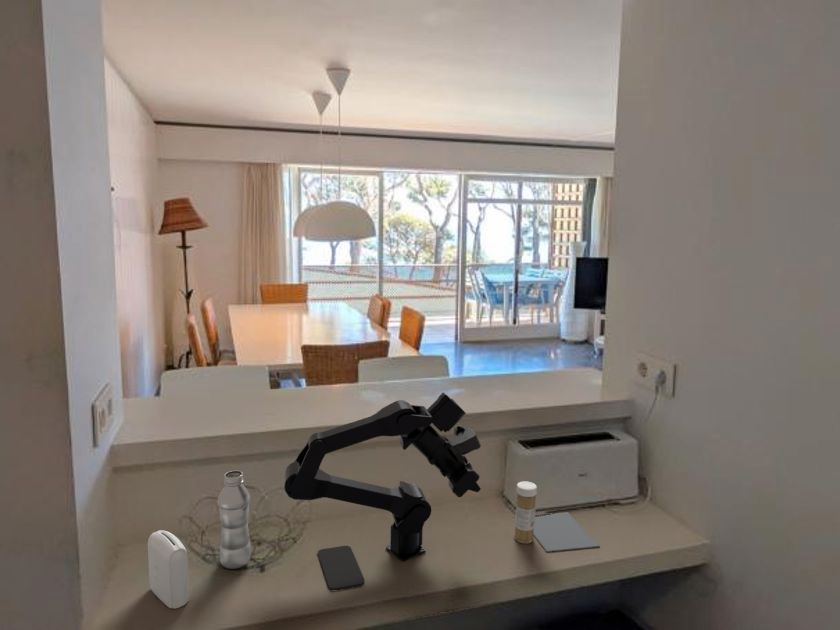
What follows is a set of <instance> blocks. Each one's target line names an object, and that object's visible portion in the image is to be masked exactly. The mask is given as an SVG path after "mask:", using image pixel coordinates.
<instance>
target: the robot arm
mask: <svg viewBox="0 0 840 630" xmlns="http://www.w3.org/2000/svg"><path fill="white" fill-rule="evenodd" d="M466 415H467V413H466V411H465V410H464V409H463V408H462V407H461V406H460V405H459V404H458V403H457V402H456V401H455V400H454V399H453V398H451V397H449V395H448V394H446V393H445V391H443V392H442V393H441V394H440V395H438V397H437V399H436V400H435V401H434V402H433V403H432V404H431V405H430V406H429V407H427V408H426V406H424V405H416V404H410V402H409V401H406V400H403V399H400V400H395V401H394V402H392V403H389V404H388V405H385V406H384V407H382V408H381V409H380V410H378V411H376V413H374V414H372V415H370V416H368V417H364V418H362V419H358V420H355V421H353V422H349V423H346V424H343V425H340V426H337V427H334V428H330V429H327V430H325V431H321V432H314V433H313V434H311V435H310V436H309V438H308V440H307V442H306V444H305V445H304V446H303V448H302V449H301V451H299V453H298V455H297V456H296V458H295V460H294V461H293V462H291V463H289V464H288V466H287V467H286V468H285V470H284V481H283V482H284V483H283V484H284V491H285V493H286V495H287V497H289V498H290V499H292V500H295V501H296V500H297V501H298V500H299V501H314V500H319V499H322V498H325V499H326V498H327V499H332V500H337V501H340V502H345V503H350V504H355V505H360V506H365V507H369V508H374V509H377V510H384V511H386V512H389V513H391V516H392V518H393V521H394V522H393V524H391V525H390V542H389V543H390V544H388V545H385V549H386V550H388V551H389V552H390V553H392V555H394V556H395V557H396V558H398V559H399V560H400V561H403V562H405V561H407V560H410V559H411V558H412V559H413V558H414V557H416V556H419V555H422V554H423V553H425V552H426V548H424V547H423V546H422V545H423V532H424V531H423V528H424V525H425V522H426V521H428V519H429V518H430V517H431V514H432V506H431V504H430V502H429V499H428V498H427V496H426V494H425V492H424V490H423V489H422V488H421V487H418V484H417V483H407V482H405V481H402V480H400V481H399V483H398V486H395V487H392V488H389V487H387V486H386V487H384V486H380V485H376V484H371V483H367V482H363V481H358V480H353V479H349V478H346V477H345V478H344V477H340V476H335V475H332V474H331V475H330V474H329V473H327V472H325V471H324V470H322V469H320V466H321V464H322V462H323V459H324V458H325V456H326V455H327V454H329V453H332V452H336V451H338V450H341V449H345V448H347V447H351V446H354V445H356V444H360V443H363V442H366V441H369V440H372V439H374V438H379V437H398V436H399V437H400V442H399V443H400V446H401V447H402V449H403V450H407V449H408V447H410V446H413V447H414V448H415V449H416V450H417V451H418V452H419V453H420V454H421V455H423V457H425V458H426V460H427V461H428V463H429V464H431V466H434V467H435V468H436V469H437V470H439V473H440V474H441V475H442V476H443V477H444V478H447V479H448V487H449V488H450V490H451V492H452V493H453V494H454V495H455V496H456V497H457V498H462V497H463V496H464V495H465V494H466V493H467V492H468V491H471V492H475V493H479V492H480V490H481V489H482V487H480V485H479V484H478V481H479V480H480V475H479V473H478V472H477V471H476V469H474V467H473V465H472V464H471V462H468V461H469V460H468V459H467V458H466V456H465V455H467V454H469V453H471V452H473V451H475V450H479V449H480V448H481V447H482V445H481V443H480V440H479V437H478V435H477V434H476V432H475V431H474V429H473V428H469V427H468V426H467V427H466V428H465V427H464V426H463V425H461V424H458V423H459V422H460V421H461V420H462V419H463V418H464V417H465V416H466ZM431 424H433V426H434V427H433V426H432V425H431ZM457 424H458V425H457ZM435 427H436V429H438V431H439V432H441V433H442V432H444V433H447V432H450V430H451V429H452V428H453V427H454V430H453V434H452V437H451V438H447V437H446V435H445V436H444V435H442V434H441V433H439V432H438V431H437V430H436V429H435Z"/></svg>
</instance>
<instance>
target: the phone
mask: <svg viewBox="0 0 840 630" xmlns="http://www.w3.org/2000/svg"><path fill="white" fill-rule="evenodd" d="M317 556H318V560H319V563H320V565H321V568H322V572H323V576H324V578H325V582H326V585H327V587H328V590H329V591H331V590H337V591H342V590H341V589H343V590H346V589H347V588H348V589H353V588H352V587H354V588H358V586H359V587H362V586H364V585H365V583H366V582H365V578H364V575H363V573H362V570H361V568H360V566H359V563H358V562H357V561H358V560H357V559H356V556H355V555H354V552H353V550H352V548H351V546H349V545H341V546H334V547H327V548H321V549H319V550H318V551H317ZM363 584H364V585H363ZM361 585H362V586H361Z"/></svg>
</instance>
